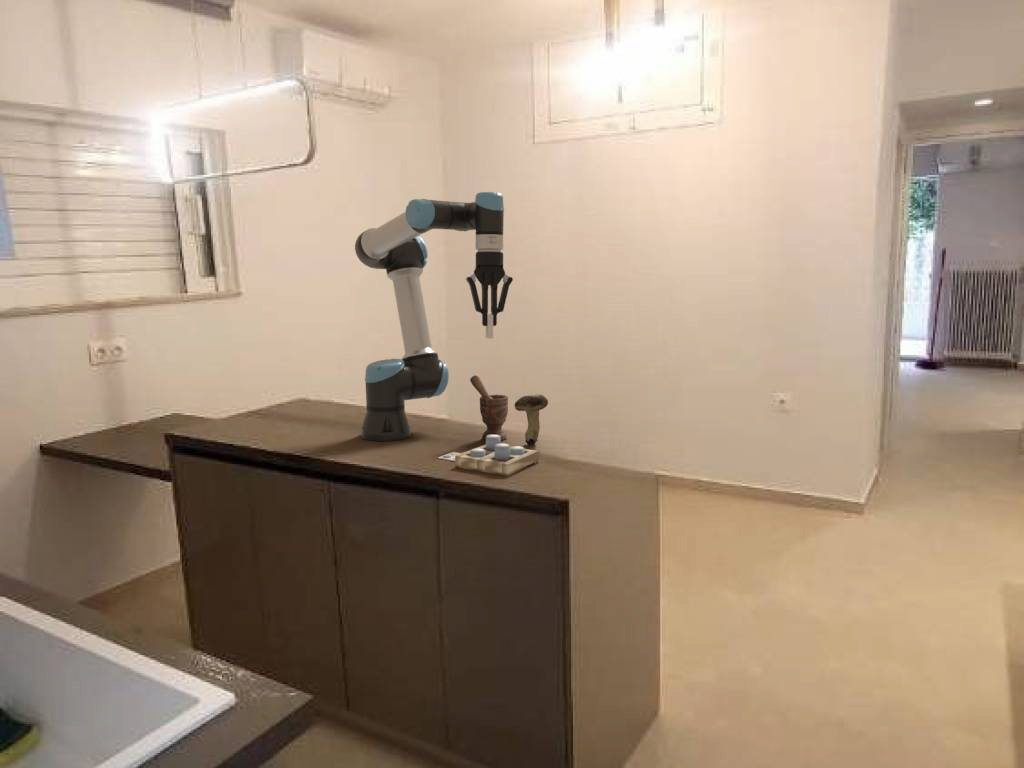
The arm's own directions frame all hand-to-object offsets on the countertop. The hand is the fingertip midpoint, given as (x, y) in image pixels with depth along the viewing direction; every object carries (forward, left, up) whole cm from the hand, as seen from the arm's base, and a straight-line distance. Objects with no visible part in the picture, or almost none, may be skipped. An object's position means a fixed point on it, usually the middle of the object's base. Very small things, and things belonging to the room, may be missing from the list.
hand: (489, 337), depth 198 cm
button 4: (+13, -6, -32) cm, 35 cm away
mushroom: (+6, +14, -33) cm, 36 cm away
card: (-4, -10, -32) cm, 34 cm away
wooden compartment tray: (+9, -10, -32) cm, 35 cm away
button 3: (+13, -14, -30) cm, 35 cm away
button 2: (+5, -6, -30) cm, 31 cm away
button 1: (+5, -14, -32) cm, 35 cm away
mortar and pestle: (-8, +13, -33) cm, 36 cm away
